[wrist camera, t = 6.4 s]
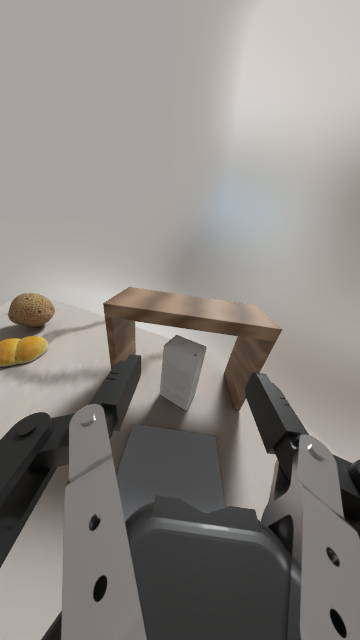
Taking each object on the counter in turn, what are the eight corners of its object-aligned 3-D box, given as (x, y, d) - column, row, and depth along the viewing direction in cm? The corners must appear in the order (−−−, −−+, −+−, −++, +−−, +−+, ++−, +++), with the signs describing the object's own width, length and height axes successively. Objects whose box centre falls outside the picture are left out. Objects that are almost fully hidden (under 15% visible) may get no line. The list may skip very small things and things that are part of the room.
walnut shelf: (114, 392, 27) (103, 303, 19) (131, 359, 35) (129, 287, 27) (239, 410, 27) (282, 329, 19) (228, 373, 35) (254, 305, 27)
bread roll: (46, 360, 32) (40, 346, 30) (-16, 373, 27) (-27, 357, 25) (52, 340, 38) (48, 327, 36) (2, 347, 33) (-6, 333, 32)
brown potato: (66, 325, 44) (57, 294, 40) (29, 339, 37) (13, 302, 32) (47, 317, 47) (38, 287, 42) (10, 328, 39) (-7, 293, 35)
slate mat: (72, 614, 11) (70, 614, 11) (133, 425, 22) (133, 423, 22) (240, 638, 11) (243, 639, 11) (214, 437, 22) (215, 435, 22)
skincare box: (195, 393, 29) (208, 346, 24) (186, 412, 25) (198, 361, 20) (170, 379, 31) (176, 333, 26) (158, 394, 28) (163, 345, 22)
